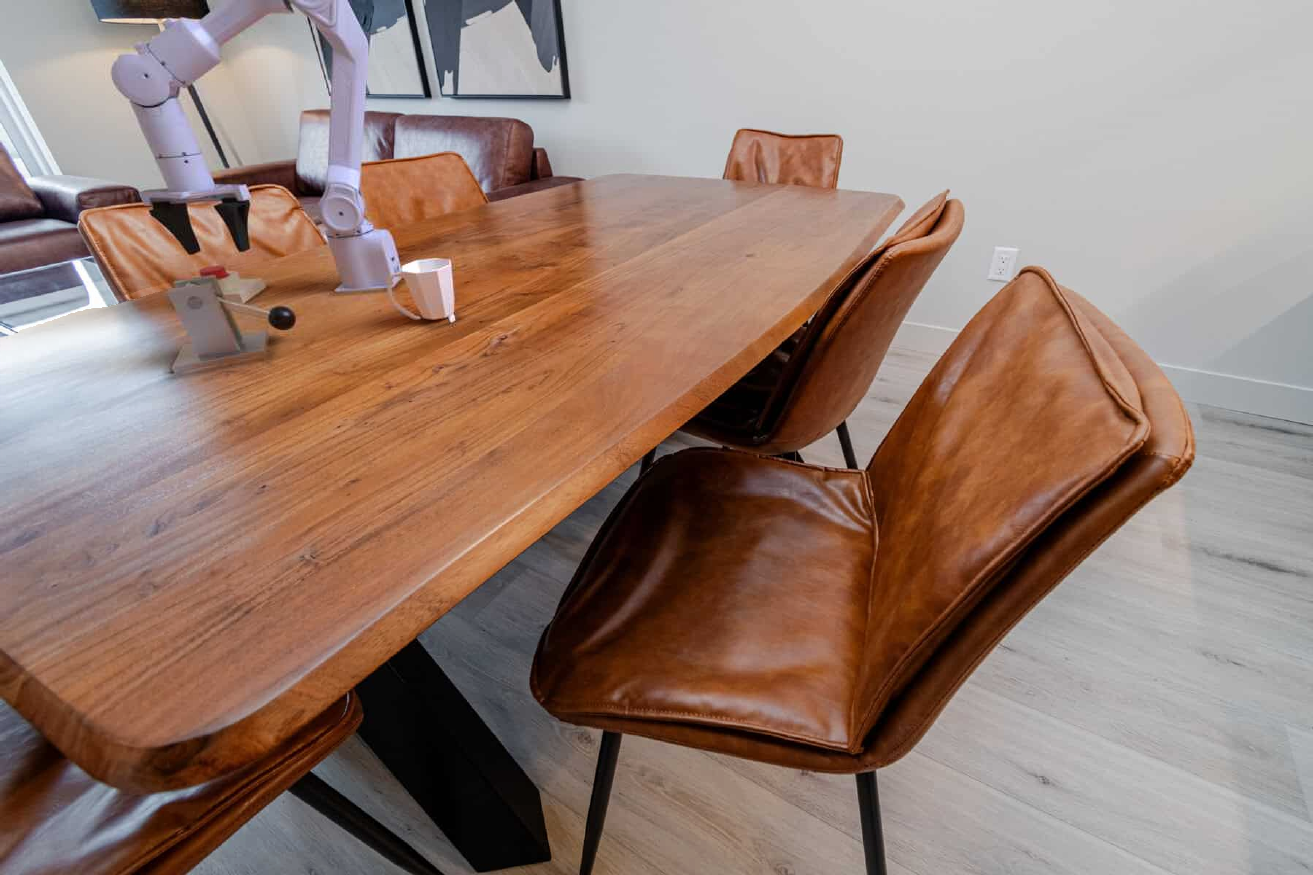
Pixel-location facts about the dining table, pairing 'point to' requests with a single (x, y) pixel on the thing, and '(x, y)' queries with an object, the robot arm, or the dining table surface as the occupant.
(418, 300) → the cup
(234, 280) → the control block
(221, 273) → the button
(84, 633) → the dining table surface
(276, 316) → the lever
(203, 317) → the bracket
